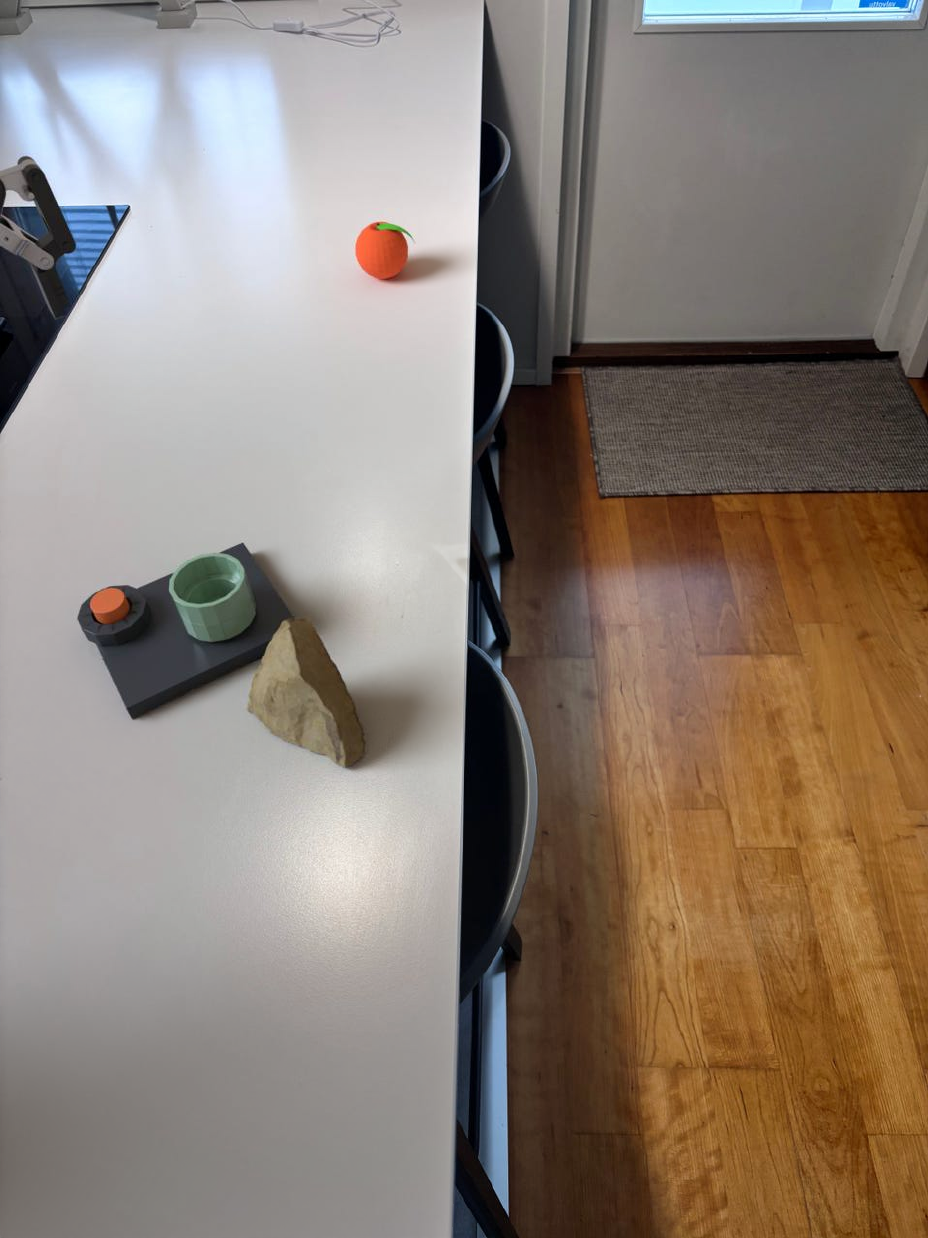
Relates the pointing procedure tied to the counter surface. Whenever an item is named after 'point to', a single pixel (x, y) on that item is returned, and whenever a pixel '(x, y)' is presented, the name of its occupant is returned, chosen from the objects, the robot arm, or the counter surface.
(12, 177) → the robot arm
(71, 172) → the counter surface
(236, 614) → the bowl
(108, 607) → the button
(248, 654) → the scale
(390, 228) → the clementine
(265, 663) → the rock
